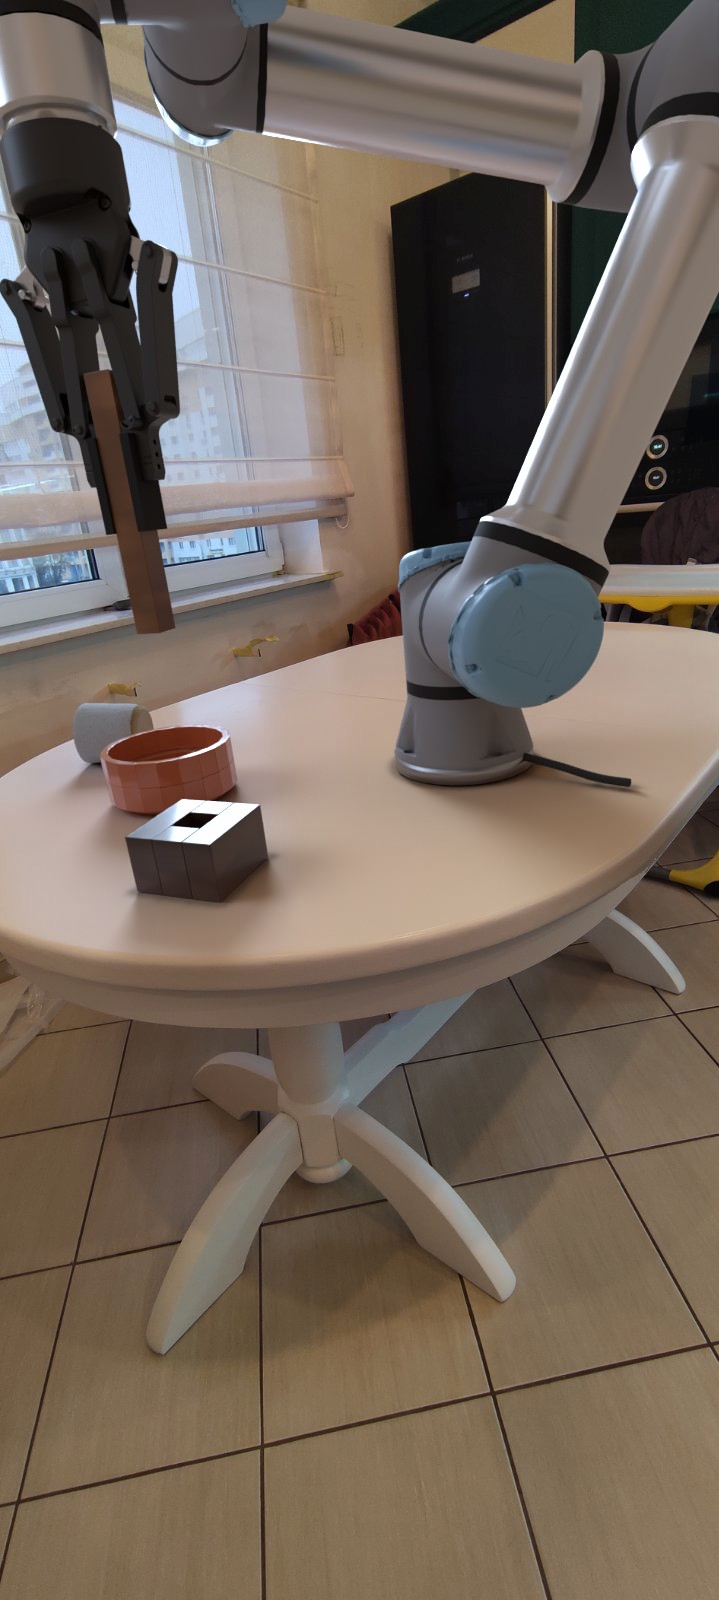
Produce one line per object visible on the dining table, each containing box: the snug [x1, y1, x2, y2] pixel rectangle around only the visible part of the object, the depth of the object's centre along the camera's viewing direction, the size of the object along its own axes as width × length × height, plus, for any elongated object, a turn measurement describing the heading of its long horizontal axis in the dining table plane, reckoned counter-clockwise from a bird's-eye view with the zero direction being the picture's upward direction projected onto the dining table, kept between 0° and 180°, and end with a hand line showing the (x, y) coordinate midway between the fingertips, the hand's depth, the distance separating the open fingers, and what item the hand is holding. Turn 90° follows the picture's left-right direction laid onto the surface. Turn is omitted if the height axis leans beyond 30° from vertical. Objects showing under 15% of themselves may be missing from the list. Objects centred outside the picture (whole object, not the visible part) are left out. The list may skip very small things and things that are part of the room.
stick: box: [83, 368, 176, 635], centre depth 54 cm, size 2×2×18 cm
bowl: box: [100, 724, 238, 815], centre depth 79 cm, size 14×14×6 cm
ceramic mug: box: [72, 702, 155, 764], centre depth 94 cm, size 11×8×8 cm
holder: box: [124, 799, 269, 903], centre depth 60 cm, size 8×8×5 cm
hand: (137, 531), depth 55 cm, fingers closed on stick, 2 cm apart
